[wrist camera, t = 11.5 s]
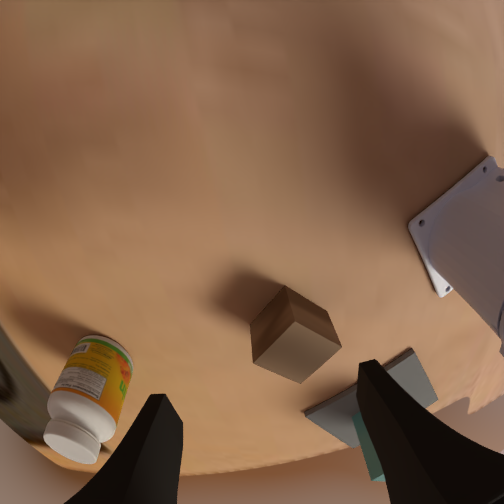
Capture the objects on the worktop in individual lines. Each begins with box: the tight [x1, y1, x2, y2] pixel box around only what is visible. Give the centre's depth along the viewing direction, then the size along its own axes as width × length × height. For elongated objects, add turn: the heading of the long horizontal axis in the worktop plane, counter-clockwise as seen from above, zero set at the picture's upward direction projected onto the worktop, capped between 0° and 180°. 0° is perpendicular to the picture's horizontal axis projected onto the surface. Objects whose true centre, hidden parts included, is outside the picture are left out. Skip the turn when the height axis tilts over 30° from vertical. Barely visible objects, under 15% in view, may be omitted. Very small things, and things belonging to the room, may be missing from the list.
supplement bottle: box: [43, 335, 133, 464], centre depth 18 cm, size 5×5×10 cm
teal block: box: [352, 411, 385, 481], centre depth 23 cm, size 4×4×8 cm
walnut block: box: [250, 286, 342, 384], centre depth 20 cm, size 4×4×4 cm
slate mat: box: [304, 349, 438, 448], centre depth 27 cm, size 12×12×1 cm
